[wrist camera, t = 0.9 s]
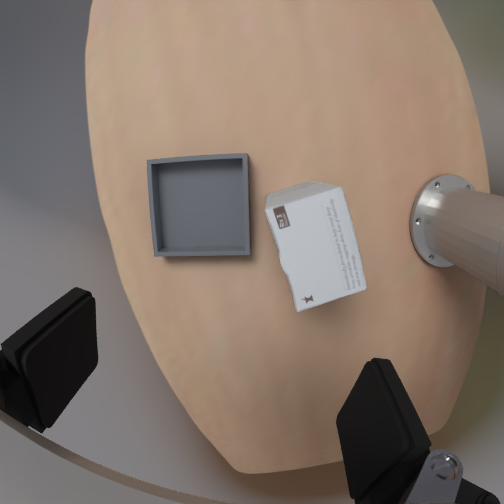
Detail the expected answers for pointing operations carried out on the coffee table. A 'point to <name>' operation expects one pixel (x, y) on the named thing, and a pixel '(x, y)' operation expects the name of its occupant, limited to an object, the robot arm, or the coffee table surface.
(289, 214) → the skincare box
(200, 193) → the tray
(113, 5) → the coffee table surface
